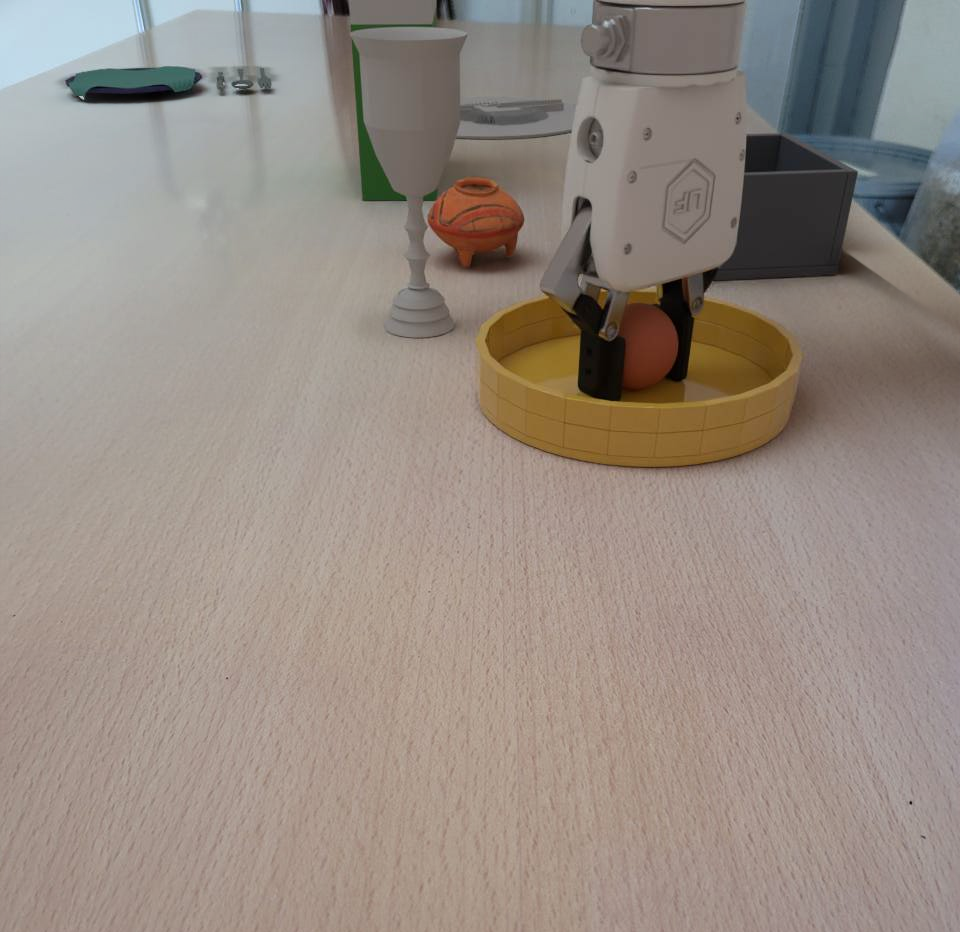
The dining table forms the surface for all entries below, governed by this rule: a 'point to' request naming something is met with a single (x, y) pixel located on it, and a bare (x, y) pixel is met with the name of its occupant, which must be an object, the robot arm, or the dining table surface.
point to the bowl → (640, 412)
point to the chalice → (412, 143)
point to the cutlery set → (148, 80)
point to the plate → (513, 118)
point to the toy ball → (647, 345)
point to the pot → (476, 218)
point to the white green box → (370, 7)
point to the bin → (789, 210)
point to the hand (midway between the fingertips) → (632, 382)
